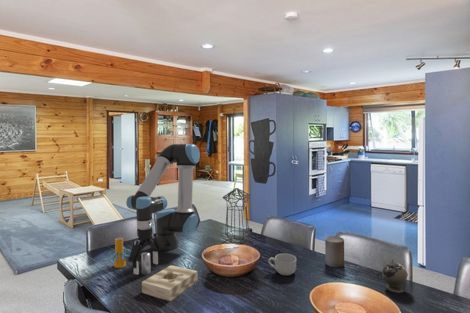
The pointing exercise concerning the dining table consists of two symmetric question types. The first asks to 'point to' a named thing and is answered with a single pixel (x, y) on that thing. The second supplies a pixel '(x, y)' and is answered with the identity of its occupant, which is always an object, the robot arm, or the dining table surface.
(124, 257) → the orange post with rings
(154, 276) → the jig
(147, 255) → the grey metal peg
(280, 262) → the teacup
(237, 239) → the geometric lantern
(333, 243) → the pillar candle
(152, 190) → the robot arm
